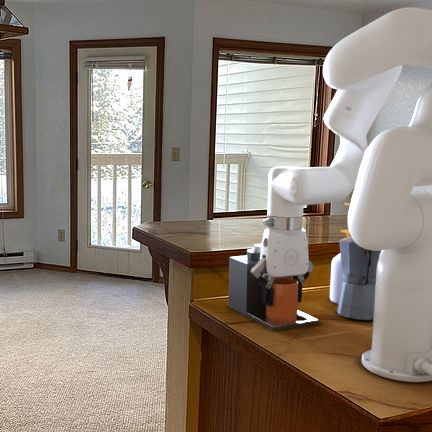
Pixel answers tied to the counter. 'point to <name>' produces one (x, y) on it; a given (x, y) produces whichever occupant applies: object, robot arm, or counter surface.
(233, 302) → the grey box with dial
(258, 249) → the brew button
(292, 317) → the cup
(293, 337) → the counter surface
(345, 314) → the moka pot
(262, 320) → the cup bay
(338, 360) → the counter surface
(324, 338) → the counter surface
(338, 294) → the soap bottle
